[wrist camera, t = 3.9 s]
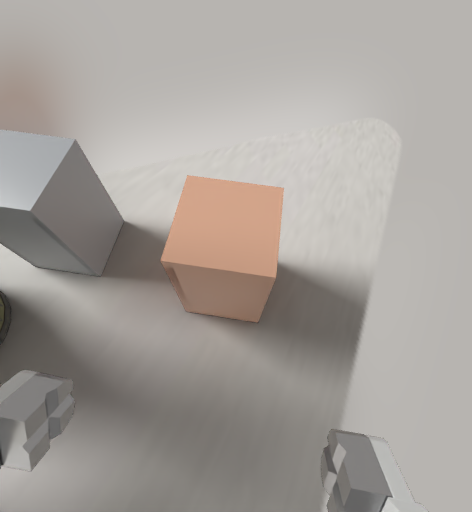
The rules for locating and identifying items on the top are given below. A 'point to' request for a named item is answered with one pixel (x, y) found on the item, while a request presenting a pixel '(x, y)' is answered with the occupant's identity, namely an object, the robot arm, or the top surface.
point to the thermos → (4, 316)
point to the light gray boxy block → (54, 204)
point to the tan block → (224, 247)
